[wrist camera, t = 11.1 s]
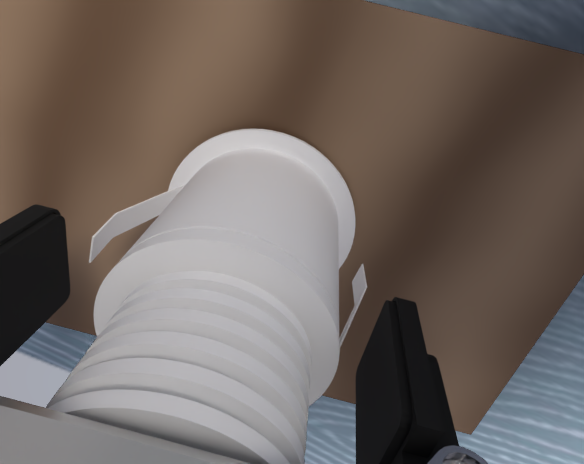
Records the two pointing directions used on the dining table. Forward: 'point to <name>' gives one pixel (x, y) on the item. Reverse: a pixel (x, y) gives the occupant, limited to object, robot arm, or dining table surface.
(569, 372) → the dining table surface
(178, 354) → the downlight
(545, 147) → the walnut board
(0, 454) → the robot arm
